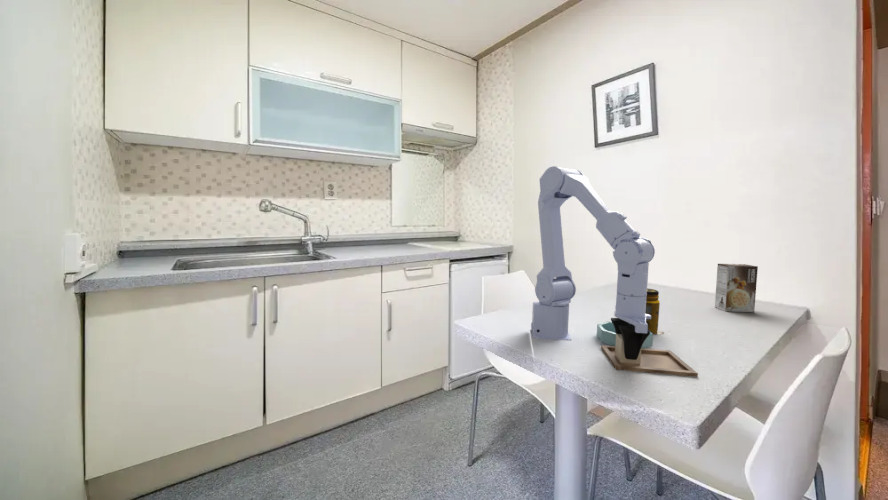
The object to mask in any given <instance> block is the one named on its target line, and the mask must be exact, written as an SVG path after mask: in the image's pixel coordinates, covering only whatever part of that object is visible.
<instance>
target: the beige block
mask: <svg viewBox="0 0 888 500" xmlns="http://www.w3.org/2000/svg"><path fill="white" fill-rule="evenodd" d="M641 348H642V347H641ZM615 356H616V357H617V359H618V360H619V361H620V362H621V363H633V364H640V363H641V349H640V352H639V355H638V358H637V360H632V359H626V358H625V353H624V342H623V337H622V334H616V344H615Z"/></svg>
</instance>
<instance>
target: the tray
mask: <svg viewBox="0 0 888 500" xmlns="http://www.w3.org/2000/svg"><path fill="white" fill-rule="evenodd" d="M600 349H601V350H602V352H603V353H604V355H605V357H607V359H608V361H609V362H610V364H611V366H612V367H613V368H614V370H616V371H626V372H627V371H628V372H638V373H648V374H649V373H650V374H660V375H671V376H672V375H673V376H679V377H680V376H682V377H692V378H693V377H694V378H698V377H699V373H698V372H697V371H696V370H695V369H693V368H692V367H691V366H690V365H689V364H688V363H687V362H685V361H684V360H682V359H681V358H680V357H679V356H678V355H677V354H675V353H674V352H673V351H671V350H670V349H668V350H667V349H655V348H653V349H652V348H645V349H644V348H641V363H640V364H633V363H621V362H620V361H619V360H618V359H617V357H616V356H615V346H612V345H605V344H604V345H602V344H601V345H600Z"/></svg>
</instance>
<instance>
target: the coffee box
mask: <svg viewBox="0 0 888 500" xmlns="http://www.w3.org/2000/svg"><path fill="white" fill-rule="evenodd" d="M716 268H717V271H716V286H715V296H714V307H715V308H717V309H719V310H722V311H724V312H736V313H737V312H739V313H755V305H756V296H757V295H756V293H757V282H758V270H759V267H758V265H753V264H752V265H751V264H746V263H745V264H743V263H717V267H716Z"/></svg>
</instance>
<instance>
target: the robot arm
mask: <svg viewBox="0 0 888 500" xmlns="http://www.w3.org/2000/svg"><path fill="white" fill-rule="evenodd" d="M539 190H540V192H539V195H538V201H537V205H538V206H537V207H538V209H537V210H538V218H539V219H538V220H539V230H540V231H539V232H540V242H541V245H540V246H541V253H542V254H541V256H542V268H541V270H540V271H539V272H538V273H537V275H536V284H535V286H534V287H535V289H534V292H535V296H536V298H537V300H538V301H537V302H536V301H534V302H532V311H531V314H532V318H531V324H530V330H531V332H532V337H533V338H536V339H547V340H560V341H561V340H562V341H572V337H571V336H570V333H569V322H570V321H569V316H570V304H571V300H572V298H574V297H575V295H576V292H577V287H576V284H575V282H574V280H573V276H572V275H573V274H572V272H571V271H570V269H568V268H567V266H566V262H565V250H564V239H563V230H562V229H563V228H562V217H561V207H562V205H563V204H564V203H565V202H566V201H568V200H569V199H571V198H572V197H574V198H576V199H577V200H578V202H580V203H581V204H582V205H583V207H584V208H585V209H586V210H587V211H588V212H589V213H590V215H592V217H594V219H595V220H596V222H595V228H596V230H597V231H598V232H599V233H600V234H601V236H602V237H603V238H604V239H605V240H606V242H607V243H608V245H609V246H610V247H611V248H612V249H613V250H612V257H613V259H614V260H615V262H616V263H617V280H616V281H617V282H616V295H615V297H616V298H615V305H614V308H615V309H614V315H613V316H614V317H611V318H610V322H612V323H613V326H614V328H615V332H616V334H622V337H623V342H624V353H625V358H626V359H632V360H637V358H638V355H639V352H640V349H641V347H642V345H643V343H644V341H645V339H646V338H647V337H648V336H649V335H650V330H649V329H648V324H647V323H646V319H651V315H649V314H645V312H646V297H647V288H648V282H649V281H648V280H649V266H650V264H649V263H650V262H651V261H652V260H653V259H654V257H655V253H656V252H655V251H656V250H655V246H654V245H653V243H652V241H651V240H650V239H648V238H646V237H641V233H640V232H639V231H638V230H637V231H636V230H635V229H634V228H633V227H632V226H631V225H630V223H629V222H628V221H627V218H628V217H627V216H626V214H625V213H620V212H619V211H616V210H613V211H611V210H610V209H609V208H608V206H607V205H606V203H605V202H604V201H603V200H602V198H601V196H599V194H598V193H597V192H596V190H595V188H594V187H593V186H592V185H591V183H590V181H589V178H588V177H587V176H586V175H584V173H583V172H582V171H581V170H579V169H575V168H573V169H571V168H566V167H565V168H563V167H558V166H549V167H548V168H547V169H546V170H544V172H543V174H541V176H540V178H539Z"/></svg>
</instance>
